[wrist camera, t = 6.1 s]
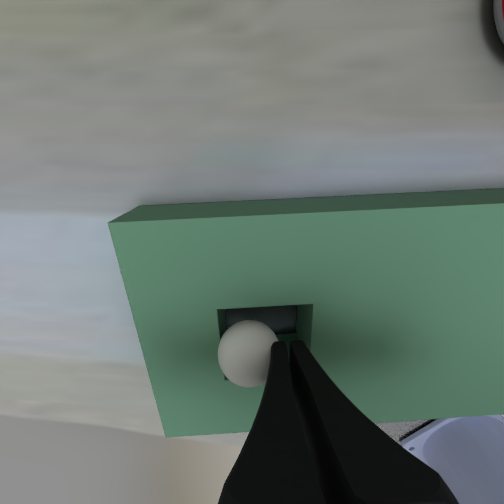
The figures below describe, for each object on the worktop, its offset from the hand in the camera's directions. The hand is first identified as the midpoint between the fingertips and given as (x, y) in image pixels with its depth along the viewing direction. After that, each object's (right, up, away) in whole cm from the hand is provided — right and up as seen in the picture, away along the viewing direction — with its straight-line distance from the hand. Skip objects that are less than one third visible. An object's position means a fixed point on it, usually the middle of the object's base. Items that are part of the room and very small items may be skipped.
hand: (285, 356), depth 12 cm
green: (+3, +2, +4) cm, 6 cm away
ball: (-2, 0, 0) cm, 2 cm away
